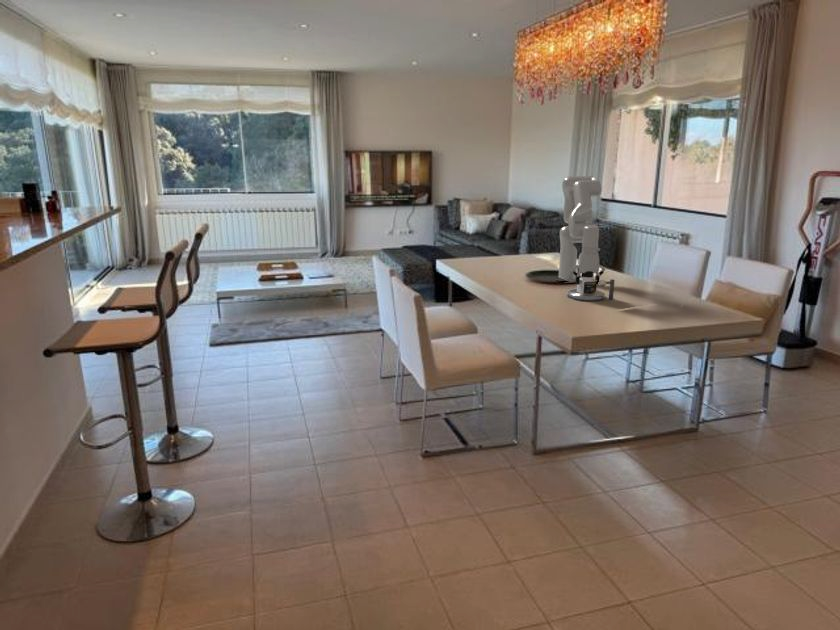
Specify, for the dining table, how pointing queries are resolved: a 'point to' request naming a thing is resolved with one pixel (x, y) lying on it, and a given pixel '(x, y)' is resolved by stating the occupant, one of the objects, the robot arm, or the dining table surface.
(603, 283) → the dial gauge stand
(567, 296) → the base
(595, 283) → the medicine bottle
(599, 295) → the disc
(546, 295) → the dining table surface
